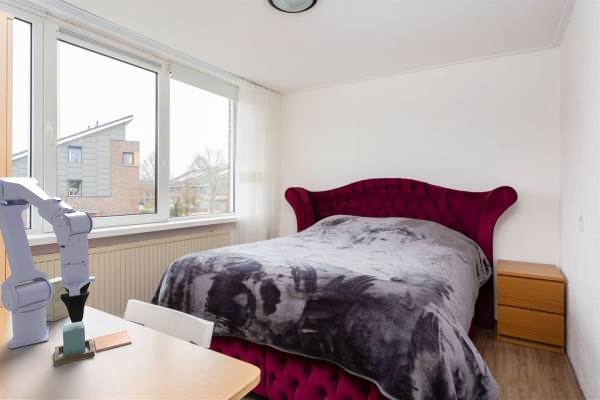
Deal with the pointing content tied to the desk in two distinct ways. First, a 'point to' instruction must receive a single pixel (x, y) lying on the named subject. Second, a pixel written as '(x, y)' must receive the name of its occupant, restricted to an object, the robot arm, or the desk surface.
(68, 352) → the teal block
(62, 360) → the pocket frame
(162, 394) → the desk surface
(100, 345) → the terracotta tile
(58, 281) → the skincare box
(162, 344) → the desk surface
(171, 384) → the desk surface
